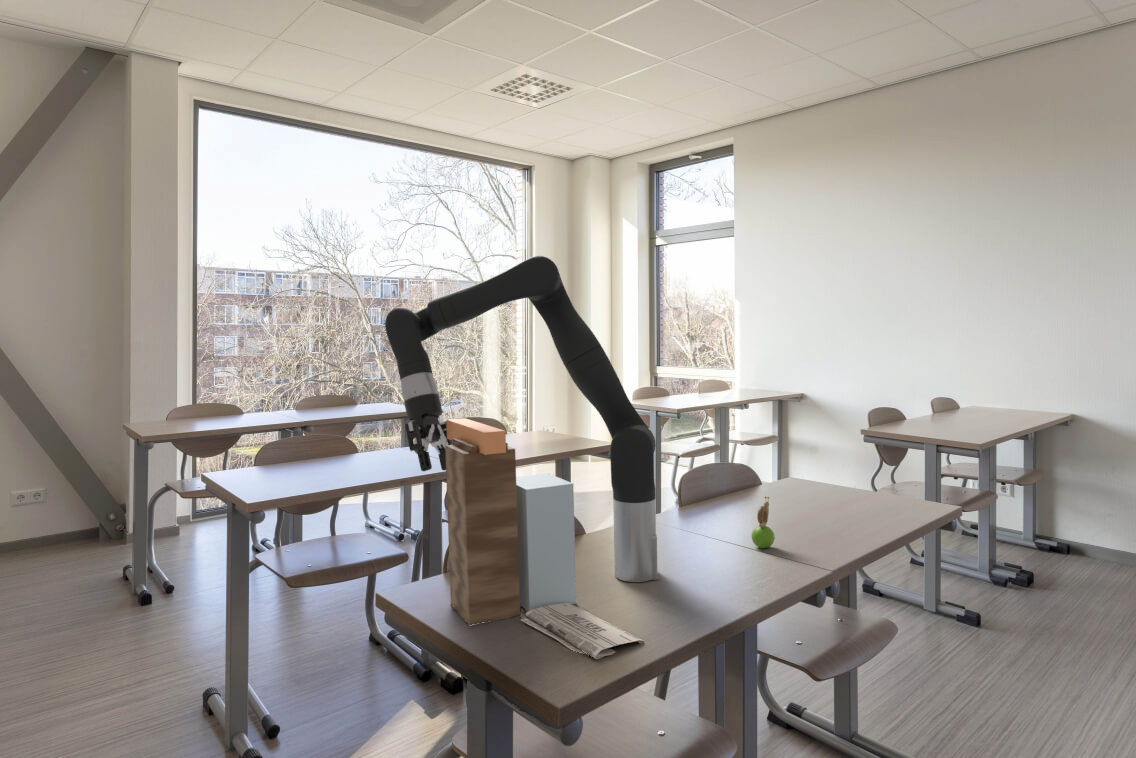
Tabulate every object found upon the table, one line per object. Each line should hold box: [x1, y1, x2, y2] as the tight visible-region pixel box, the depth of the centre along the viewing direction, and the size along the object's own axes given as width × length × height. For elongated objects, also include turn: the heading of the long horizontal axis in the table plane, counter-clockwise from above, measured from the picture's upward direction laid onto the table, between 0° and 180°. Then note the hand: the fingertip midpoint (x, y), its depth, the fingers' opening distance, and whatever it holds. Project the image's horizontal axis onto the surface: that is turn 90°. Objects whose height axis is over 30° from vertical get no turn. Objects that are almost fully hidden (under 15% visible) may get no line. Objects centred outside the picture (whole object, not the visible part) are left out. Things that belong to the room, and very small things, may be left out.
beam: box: [445, 417, 507, 455], centre depth 135 cm, size 24×4×4 cm, turn 26°
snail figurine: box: [751, 496, 776, 549], centre depth 169 cm, size 5×6×12 cm
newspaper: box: [520, 603, 645, 660], centre depth 123 cm, size 23×12×2 cm, turn 35°
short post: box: [516, 473, 577, 612], centre depth 139 cm, size 12×10×24 cm
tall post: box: [445, 438, 521, 626], centre depth 133 cm, size 12×10×33 cm
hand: (437, 469), depth 146 cm, fingers open, 8 cm apart
